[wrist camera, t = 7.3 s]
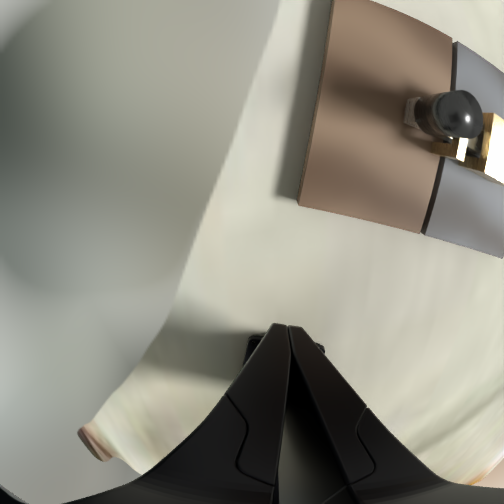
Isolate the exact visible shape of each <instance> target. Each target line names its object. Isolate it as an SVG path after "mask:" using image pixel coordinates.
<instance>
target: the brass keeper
mask: <svg viewBox="0 0 504 504" xmlns="http://www.w3.org/2000/svg"><path fill="white" fill-rule="evenodd" d="M482 130H483V131H484V136H483V143H482V149H481V155H480V158H475V157H470V156H465V151H466V146H467V140H468V139H466V138H456V137H452V143H451V144H448V143H440V142H432V147H431V152H430V153H431V154H434V155H436V156H440V157H445V158H450V159H454V160H459V163H458V165H459V166H461V167H463V168H465V169H467V170H469V171H471V172H473V173H475V174H477V175H479V176H481V177H483V178H485V179H487V180H489V181H490V182H492V183H495V184H498V185H501V186H504V120H503V119H502V118H501V117H499V116H498V115H496V114H495V113H483V127H482Z"/></svg>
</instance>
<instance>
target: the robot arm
mask: <svg viewBox="0 0 504 504" xmlns="http://www.w3.org/2000/svg"><path fill="white" fill-rule="evenodd" d="M252 341H256V343H254V342H252ZM324 353H325V349H324V346H322V345H317V344H315V342H314V341H313V340H312V339H311V338H310V336H309V335H308V334H307V333H306V331H305V330H304V329H303V328H302V327H298V326H291V325H289V326H286V325H284V324H278V323H273V324H272V325H271V326H270V328H269V329H268V331H267V332H266V334H265V335H264V337H260V336H251V337H250V338H249V340H248V344H247V349H246V353H245V358H244V363H243V367H242V370H241V371H240V372H239V374H238V375H237V377H236V378H235V380H234V381H233V383H232V384H231V385H230V387H229V388H228V390H227V391H226V392H225V394H224V396H222V398H221V399H220V400H219V402H218V403H217V405H216V406H215V407H214V408H213V410H212V411H211V412H210V413H209V415H208V416H207V417H206V418H205V420H204V421H203V422H202V423H201V424H200V425H199V426H198V427H197V428H196V429H195V430H194V431H193V432H192V433H191V434H190V435H189V436H188V437H187V438H186V439H185V440H183V441H182V442H181V443H180V444H179V445H178V446H177V447H176V448H175V449H173V450H172V451H171V452H170V453H169V454H168V455H167V456H166V457H164V458H163V459H162V460H161V461H160V462H159V463H157V464H156V465H155V466H154V467H153V468H151V469H150V470H149V471H147V472H146V473H145V474H143V475H142V476H140V477H138V478H137V479H135V480H134V481H131V482H129V483H127V484H125V485H122V486H119V487H116V488H113V489H111V490H108V491H105V492H102V493H98V494H96V495H92V496H89V497H85V498H82V499H78V500H74V501H71V502H67V503H63V504H504V488H490V487H480V486H472V485H464V484H458V483H453V482H450V481H447V480H445V479H443V478H441V477H439V476H438V475H436V474H435V473H434V472H432V471H431V470H430V469H429V468H428V467H427V466H426V465H424V464H423V463H422V462H421V461H420V460H419V459H418V458H417V457H416V456H415V455H414V454H413V453H411V452H410V451H409V450H408V449H407V448H406V447H405V446H404V445H403V444H402V443H401V442H400V441H399V440H398V439H397V438H396V437H395V436H394V435H393V434H392V433H391V432H390V431H389V430H388V429H387V428H386V427H385V426H384V425H383V424H382V422H381V421H380V420H379V419H378V418H377V417H376V416H375V414H374V413H373V412H372V411H371V410H370V408H367V405H366V404H365V403H364V401H363V400H362V399H361V398H360V397H359V395H358V394H357V393H356V392H355V391H354V389H353V388H352V387H351V386H350V385H349V383H348V382H347V381H346V380H345V379H344V377H343V376H342V375H341V374H340V373H339V371H338V370H337V369H336V368H335V367H334V365H333V364H332V363H331V362H330V361H329V359H328V358H327V357H326V356H325V355H324ZM0 504H28V503H26V502H25V501H23V500H22V499H20V498H19V497H17V496H16V495H14V494H13V493H11V492H10V491H8V490H7V489H5V488H4V487H3V486H2V485H0Z"/></svg>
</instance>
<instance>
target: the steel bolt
mask: <svg viewBox="0 0 504 504" xmlns="http://www.w3.org/2000/svg"><path fill="white" fill-rule="evenodd" d="M403 123H405V124H408V125H410V126H413V127H415V128H418V129H420V130H422V131H423V132H424V133H426V134H428V135H432V136H436V137H439V138H441V139H443V140H445V141H447V142H449V143H452V137H456V138H466V139H468V140H467V146H466V151H467V152H469V153H471V154H473V155H475V156H477V157H479V158H480V155H481V149H482V143H483V136H484V131H483V130H482V127H483V113H482V109H481V107H480V105H479V103H478V101H477V100H476V98H475V97H474V96H473V95H472V94H471V93H469V92H468V91H465V90H455V91H449V92H443V93H437V94H432V95H427V96H423V97H421V98H420V97H416V98H411V99H407V103H406V109H405V116H404V122H403Z"/></svg>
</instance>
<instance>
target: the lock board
mask: <svg viewBox="0 0 504 504" xmlns="http://www.w3.org/2000/svg"><path fill="white" fill-rule="evenodd" d="M455 90H465V91H468V92H469V93H471V94H472V95H473V96H474V97H475V98H476V100H477V101H478V103H479V105H480V107H481V109H482V113H495V114H496V115H498V116H499V117H501V118H502V119H503V120H504V73H503V72H501V71H500V70H499V69H498V68H496V67H495V66H494V65H492V64H491V63H489V62H488V61H487V60H485V59H484V58H482V57H481V56H480V55H478V54H477V53H475V52H474V51H472V50H471V49H469V48H467V47H466V46H464V45H463V44H461V43H459V42H458V41H457V42H454V43H452V38H451V37H449V36H448V35H446V34H444V33H442V32H440V31H439V30H437V29H435V28H433V27H431V26H429V25H427V24H425V23H423V22H421V21H419V20H417V19H415V18H413V17H410V16H408V15H406V14H404V13H401V12H399V11H397V10H394V9H392V8H389V7H387V6H384V5H381V4H379V3H376V2H373V1H370V0H332V4H331V11H330V18H329V25H328V32H327V38H326V45H325V51H324V58H323V64H322V70H321V76H320V82H319V87H318V93H317V99H316V104H315V110H314V115H313V121H312V126H311V131H310V137H309V142H308V147H307V152H306V157H305V162H304V167H303V172H302V177H301V182H300V187H299V191H298V196H297V203H298V205H299V206H303V207H308V208H313V209H318V210H323V211H327V212H332V213H336V214H341V215H345V216H350V217H354V218H358V219H363V220H367V221H371V222H375V223H379V224H383V225H387V226H391V227H395V228H399V229H403V230H407V231H411V232H414V233H418V234H420V232H421V233H423V234H424V235H426V236H429V237H433V238H436V239H440V240H443V241H447V242H450V243H454V244H457V245H460V246H464V247H467V248H470V249H473V250H477V251H480V252H483V253H486V254H489V255H492V256H495V257H498V258H501V259H503V256H504V186H501V185H498V184H495V183H492V182H490V181H489V180H487V179H485V178H483V177H481V176H479V175H477V174H475V173H473V172H471V171H469V170H467V169H465V168H463V167H461V166H459V165H458V163H459V160H454V159H450V158H445V157H440V156H436V155H434V154H431V153H430V152H431V147H432V142H440V143H448V144H451V143H449V142H447V141H445V140H443V139H441V138H439V137H436V136H432V135H428V134H426V133H424V132H423V131H422V130H420V129H418V128H415V127H413V126H410V125H408V124H405V123H403V122H404V116H405V109H406V103H407V99H411V98H416V97H420V98H421V97H423V96H427V95H432V94H437V93H443V92H449V91H455ZM465 156H470V157H475V158H479V157H477V156H475V155H473V154H471V153H469V152H467V151H465Z"/></svg>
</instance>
